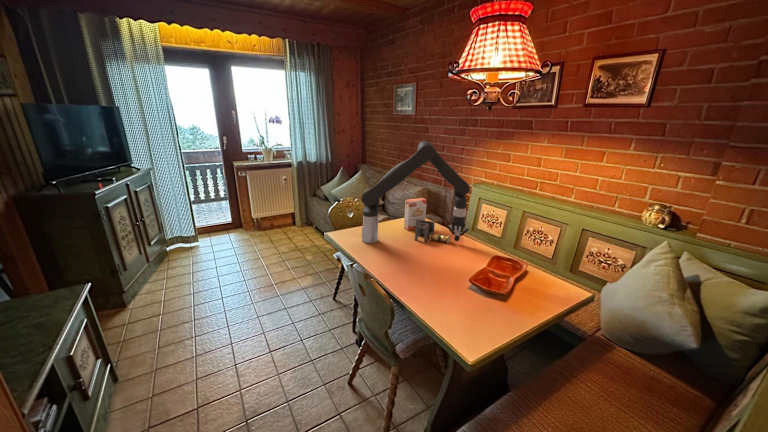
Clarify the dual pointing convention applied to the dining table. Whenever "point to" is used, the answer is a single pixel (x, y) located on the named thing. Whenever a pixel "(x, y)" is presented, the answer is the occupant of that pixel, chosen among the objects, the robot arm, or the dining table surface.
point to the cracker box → (414, 212)
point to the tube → (439, 237)
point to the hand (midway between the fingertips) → (456, 241)
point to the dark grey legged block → (424, 229)
